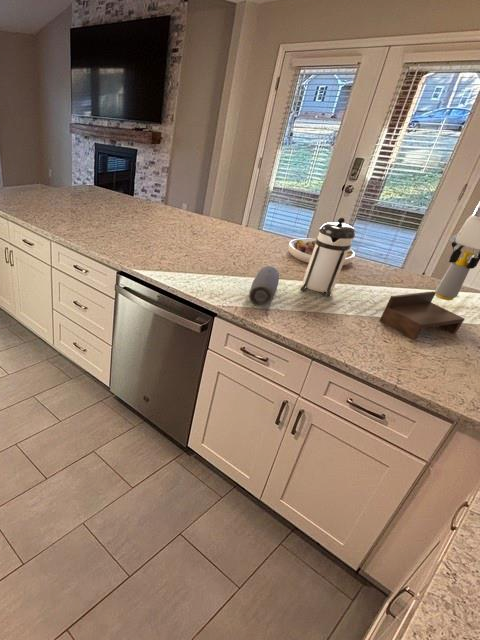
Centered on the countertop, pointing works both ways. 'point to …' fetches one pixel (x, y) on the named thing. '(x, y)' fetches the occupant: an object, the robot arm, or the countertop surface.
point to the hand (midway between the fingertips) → (461, 264)
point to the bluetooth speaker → (264, 286)
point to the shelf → (418, 314)
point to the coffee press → (328, 256)
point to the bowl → (310, 250)
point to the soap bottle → (453, 278)
